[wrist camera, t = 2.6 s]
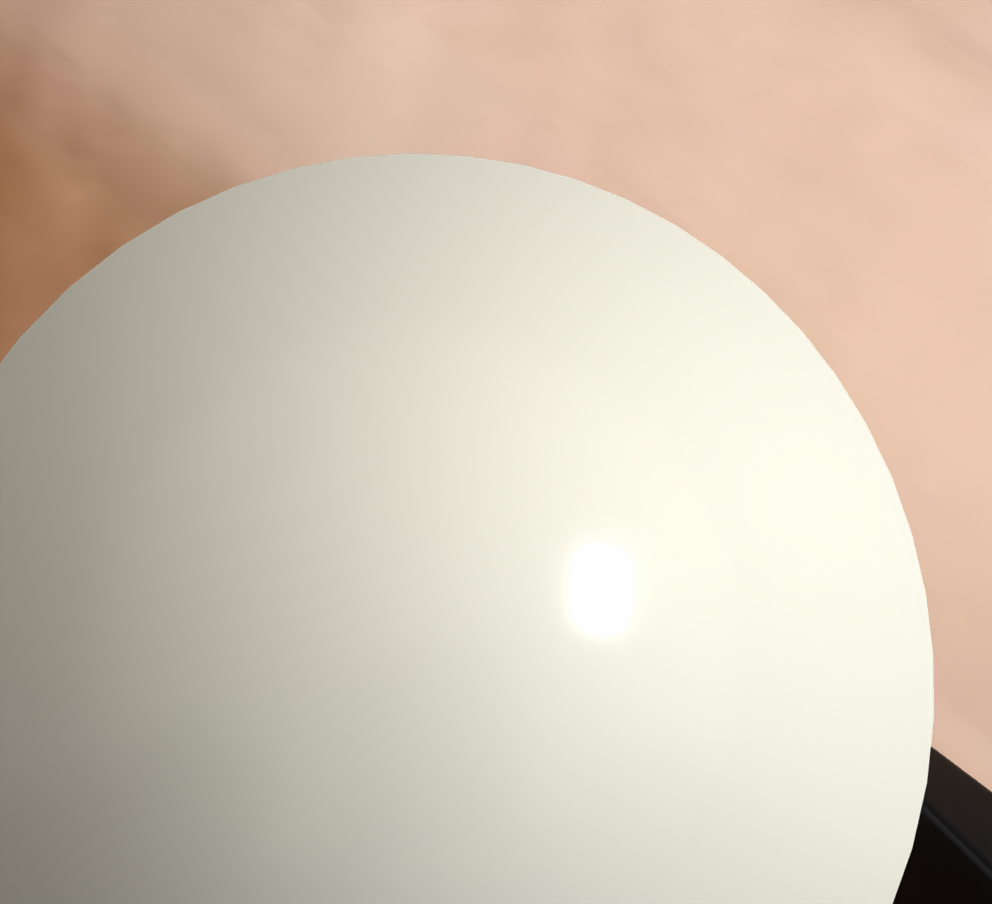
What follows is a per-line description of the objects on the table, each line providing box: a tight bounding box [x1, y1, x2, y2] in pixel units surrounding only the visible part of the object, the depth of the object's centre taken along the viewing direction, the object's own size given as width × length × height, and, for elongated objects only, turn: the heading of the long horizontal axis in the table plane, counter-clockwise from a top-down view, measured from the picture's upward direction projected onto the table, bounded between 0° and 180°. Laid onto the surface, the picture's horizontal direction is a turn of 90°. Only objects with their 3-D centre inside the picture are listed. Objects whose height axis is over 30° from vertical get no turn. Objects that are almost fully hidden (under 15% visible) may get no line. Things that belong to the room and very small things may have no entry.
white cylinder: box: [0, 153, 934, 904], centre depth 10 cm, size 5×5×13 cm
